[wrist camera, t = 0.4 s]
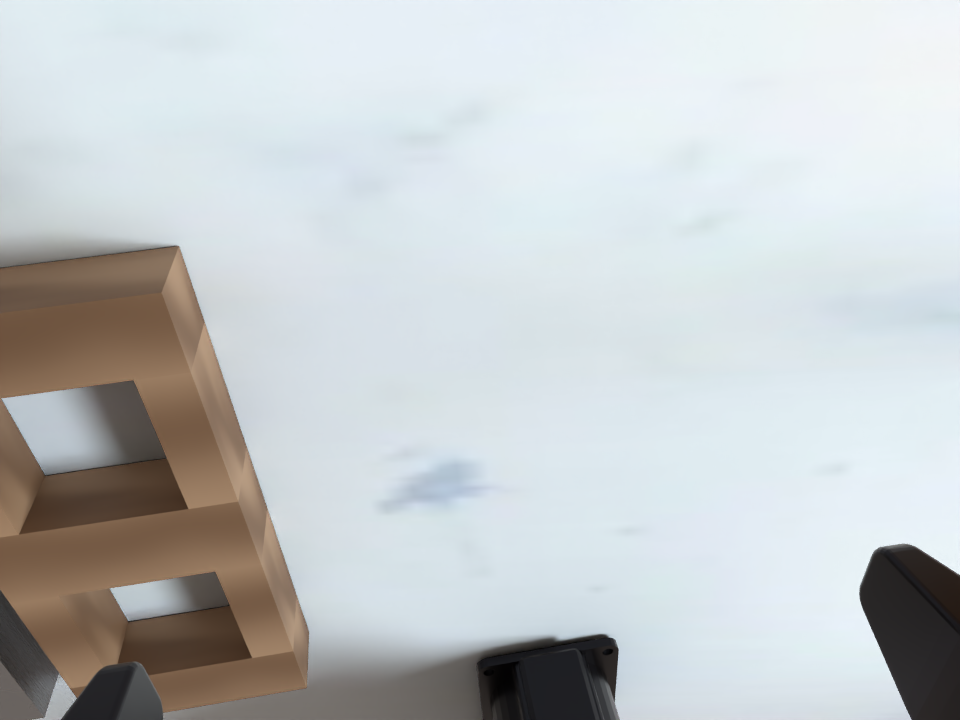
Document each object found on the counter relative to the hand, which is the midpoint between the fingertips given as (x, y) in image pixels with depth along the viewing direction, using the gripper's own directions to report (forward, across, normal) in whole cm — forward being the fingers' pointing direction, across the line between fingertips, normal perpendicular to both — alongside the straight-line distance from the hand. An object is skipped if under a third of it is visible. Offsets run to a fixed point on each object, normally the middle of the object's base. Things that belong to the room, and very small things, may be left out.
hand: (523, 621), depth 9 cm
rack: (+14, +11, +10) cm, 21 cm away
